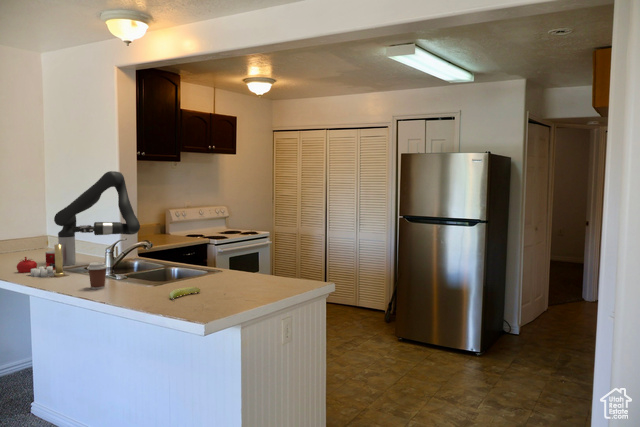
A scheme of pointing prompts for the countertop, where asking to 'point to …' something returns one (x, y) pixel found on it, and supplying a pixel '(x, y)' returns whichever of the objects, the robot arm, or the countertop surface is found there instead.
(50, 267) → the mat
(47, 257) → the canned food
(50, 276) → the walnut pad
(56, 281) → the countertop surface
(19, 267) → the red tomato
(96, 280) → the coffee cup
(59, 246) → the gold tall tapered cylinder
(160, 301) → the countertop surface
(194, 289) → the green caterpillar
